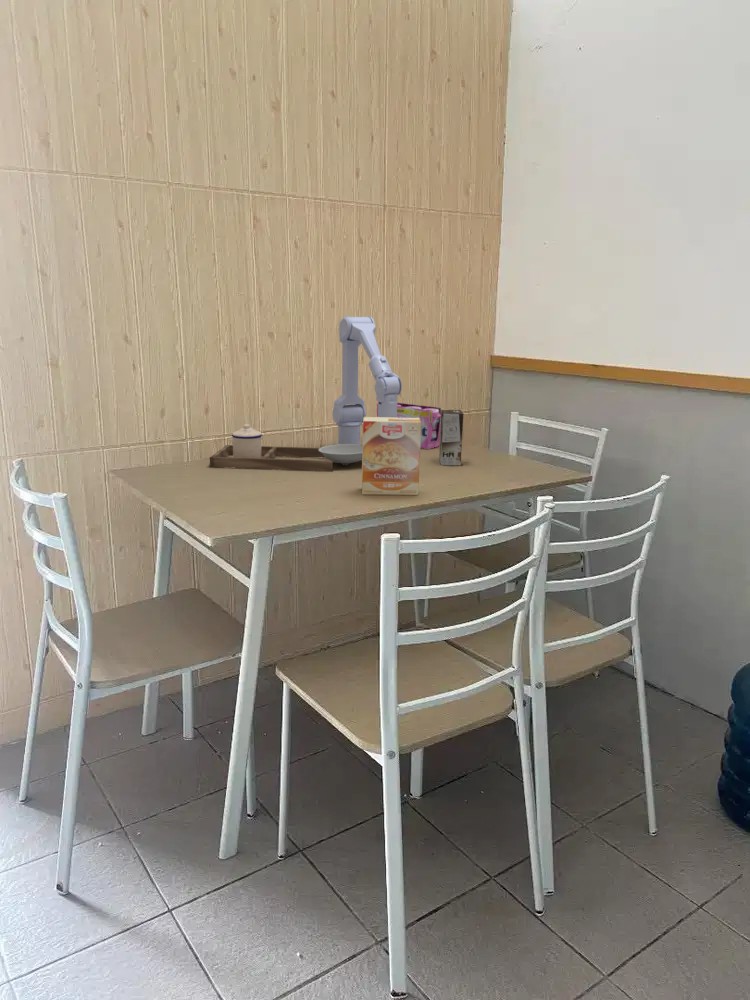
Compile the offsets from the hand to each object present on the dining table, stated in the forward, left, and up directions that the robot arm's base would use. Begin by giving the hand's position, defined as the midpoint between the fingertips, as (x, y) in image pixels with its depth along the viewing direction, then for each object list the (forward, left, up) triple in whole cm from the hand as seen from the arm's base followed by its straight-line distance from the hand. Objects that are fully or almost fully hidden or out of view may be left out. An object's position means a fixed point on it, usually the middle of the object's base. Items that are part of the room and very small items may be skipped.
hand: (386, 461), depth 228 cm
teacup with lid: (0, -44, -2) cm, 44 cm away
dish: (0, -12, -2) cm, 13 cm away
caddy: (0, -34, -1) cm, 34 cm away
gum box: (-37, +6, -2) cm, 38 cm away
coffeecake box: (+31, +3, -2) cm, 31 cm away
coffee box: (-8, +20, -2) cm, 21 cm away
